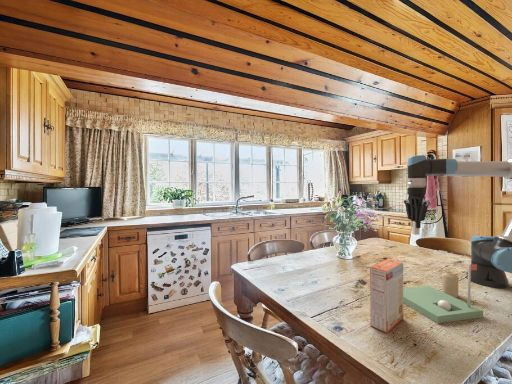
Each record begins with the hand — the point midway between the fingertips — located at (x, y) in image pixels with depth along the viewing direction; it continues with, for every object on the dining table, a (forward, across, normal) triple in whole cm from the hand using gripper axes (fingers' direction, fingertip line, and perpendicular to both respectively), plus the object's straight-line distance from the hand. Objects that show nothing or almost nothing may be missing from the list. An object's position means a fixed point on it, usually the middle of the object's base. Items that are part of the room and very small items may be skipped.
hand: (415, 234), depth 116 cm
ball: (+22, +25, -12) cm, 36 cm away
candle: (+25, +14, +4) cm, 29 cm away
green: (+24, +20, -12) cm, 34 cm away
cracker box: (+25, +27, -39) cm, 53 cm away
